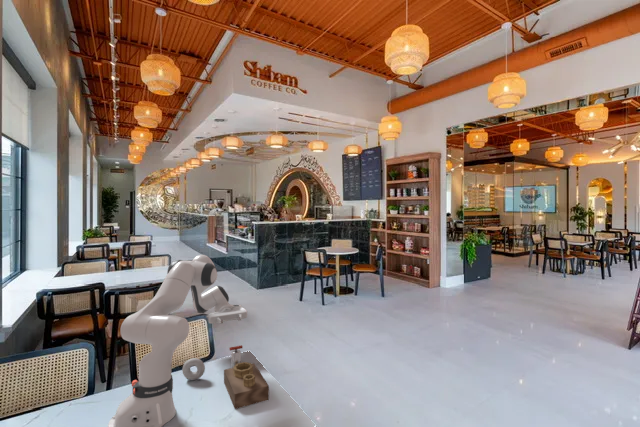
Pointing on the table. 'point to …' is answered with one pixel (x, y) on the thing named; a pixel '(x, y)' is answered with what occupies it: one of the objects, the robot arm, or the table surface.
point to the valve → (235, 355)
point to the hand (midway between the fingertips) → (230, 320)
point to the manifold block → (245, 385)
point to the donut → (189, 373)
